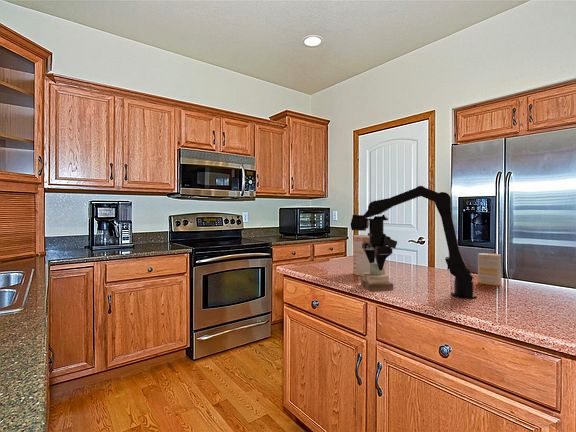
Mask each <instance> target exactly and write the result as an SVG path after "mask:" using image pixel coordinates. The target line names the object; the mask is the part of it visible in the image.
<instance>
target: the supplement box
mask: <svg viewBox="0 0 576 432" xmlns="http://www.w3.org/2000/svg"><path fill="white" fill-rule="evenodd" d="M477 284H479V285H488V286H495V287H500V286H501V285H502V254H501V253H499V254H498V253H487V252H479V253H478V254H477Z"/></svg>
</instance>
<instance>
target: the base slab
mask: <svg viewBox="0 0 576 432" xmlns="http://www.w3.org/2000/svg"><path fill="white" fill-rule="evenodd" d="M360 285H361V286H362V287H363V288H365V289H366V290H367V291H369V292H375V291H394V284H393V283H392V282H390V280H388V283H387V284H369V283H367V282H366V281H364V280H363V278H362V279H360Z"/></svg>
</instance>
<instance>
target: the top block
mask: <svg viewBox="0 0 576 432" xmlns="http://www.w3.org/2000/svg"><path fill="white" fill-rule="evenodd" d="M362 279H363V280H364V281H366V282H367V283H369V284H387V283H388V281H389V275H387V274H386V275H385V274H383V273H382V275H380V276H375V275H370V273H363V276H362Z"/></svg>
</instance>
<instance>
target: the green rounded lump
mask: <svg viewBox="0 0 576 432" xmlns="http://www.w3.org/2000/svg"><path fill="white" fill-rule="evenodd" d="M370 275H375V276H380V275H382V270H379V268H378V265H377V263H370Z"/></svg>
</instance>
